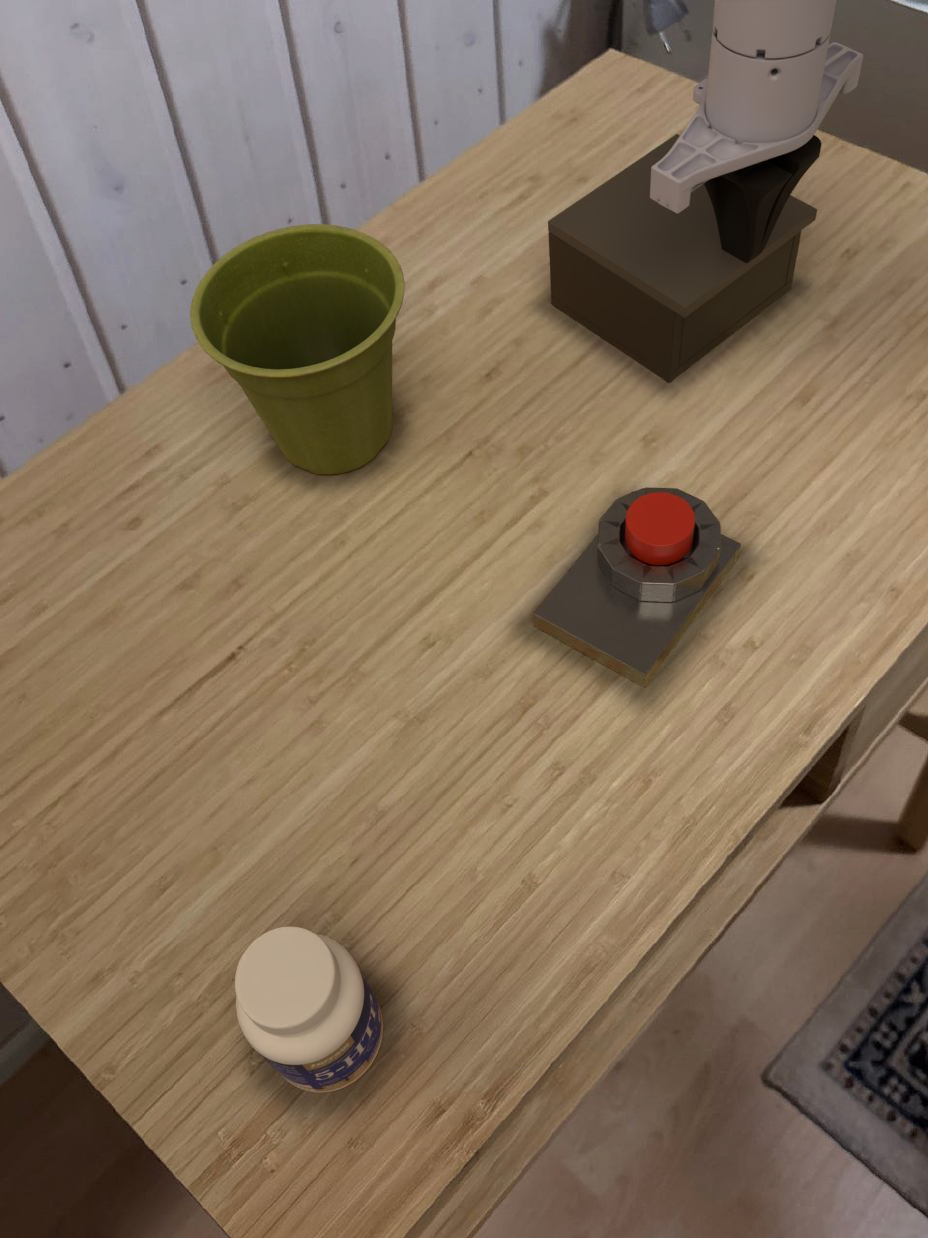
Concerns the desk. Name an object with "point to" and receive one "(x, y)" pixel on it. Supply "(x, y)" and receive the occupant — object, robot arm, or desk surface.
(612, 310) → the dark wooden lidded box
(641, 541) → the button
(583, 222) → the lid
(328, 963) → the pill bottle
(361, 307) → the plant pot
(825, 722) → the desk surface
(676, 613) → the button block
